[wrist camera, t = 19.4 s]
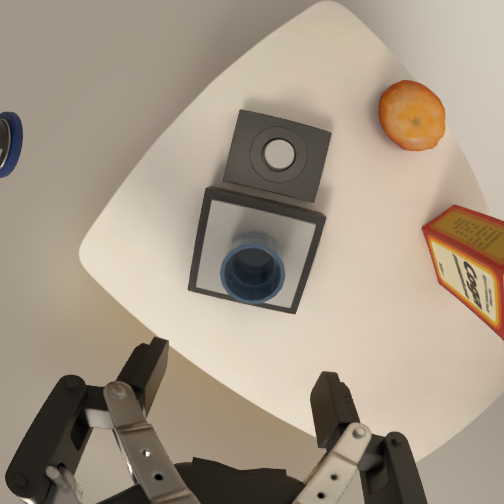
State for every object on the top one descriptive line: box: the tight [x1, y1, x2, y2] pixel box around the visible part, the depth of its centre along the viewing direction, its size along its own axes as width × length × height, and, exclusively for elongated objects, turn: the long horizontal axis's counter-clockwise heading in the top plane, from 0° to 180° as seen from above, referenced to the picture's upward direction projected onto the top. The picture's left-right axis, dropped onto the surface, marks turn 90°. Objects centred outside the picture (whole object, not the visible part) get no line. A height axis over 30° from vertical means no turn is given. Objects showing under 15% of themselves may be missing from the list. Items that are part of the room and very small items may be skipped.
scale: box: [188, 186, 326, 314], centre depth 31 cm, size 13×12×3 cm
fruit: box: [378, 80, 445, 151], centre depth 24 cm, size 8×8×8 cm
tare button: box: [265, 140, 294, 168], centre depth 26 cm, size 3×3×2 cm
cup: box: [220, 231, 286, 304], centre depth 27 cm, size 6×6×5 cm
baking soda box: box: [422, 205, 504, 340], centre depth 23 cm, size 10×6×16 cm
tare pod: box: [223, 109, 332, 203], centre depth 27 cm, size 10×8×3 cm
